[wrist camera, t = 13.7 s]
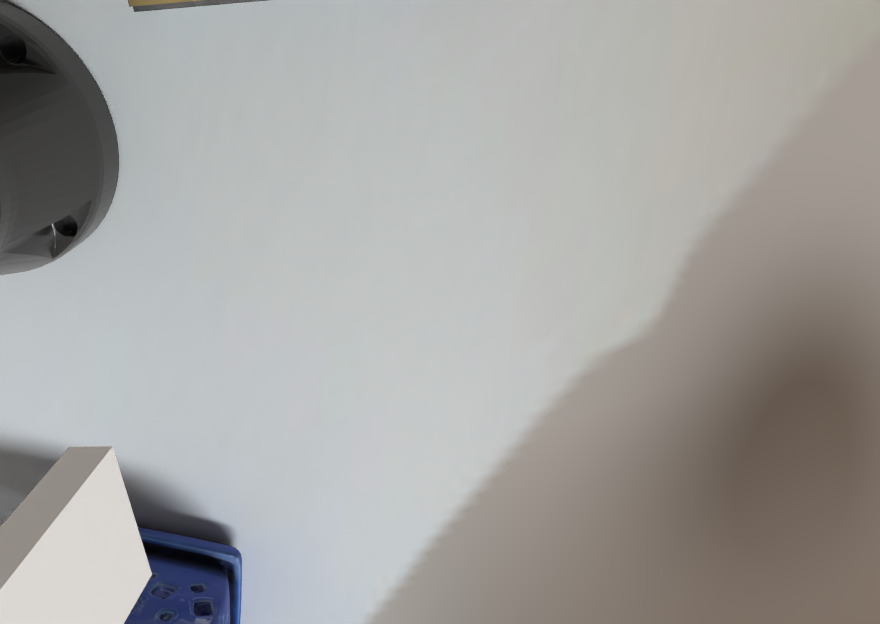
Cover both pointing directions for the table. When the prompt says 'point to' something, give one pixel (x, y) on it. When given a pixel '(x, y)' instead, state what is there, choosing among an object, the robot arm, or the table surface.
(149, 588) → the flower pot
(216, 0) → the grey flat box
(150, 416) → the table surface
